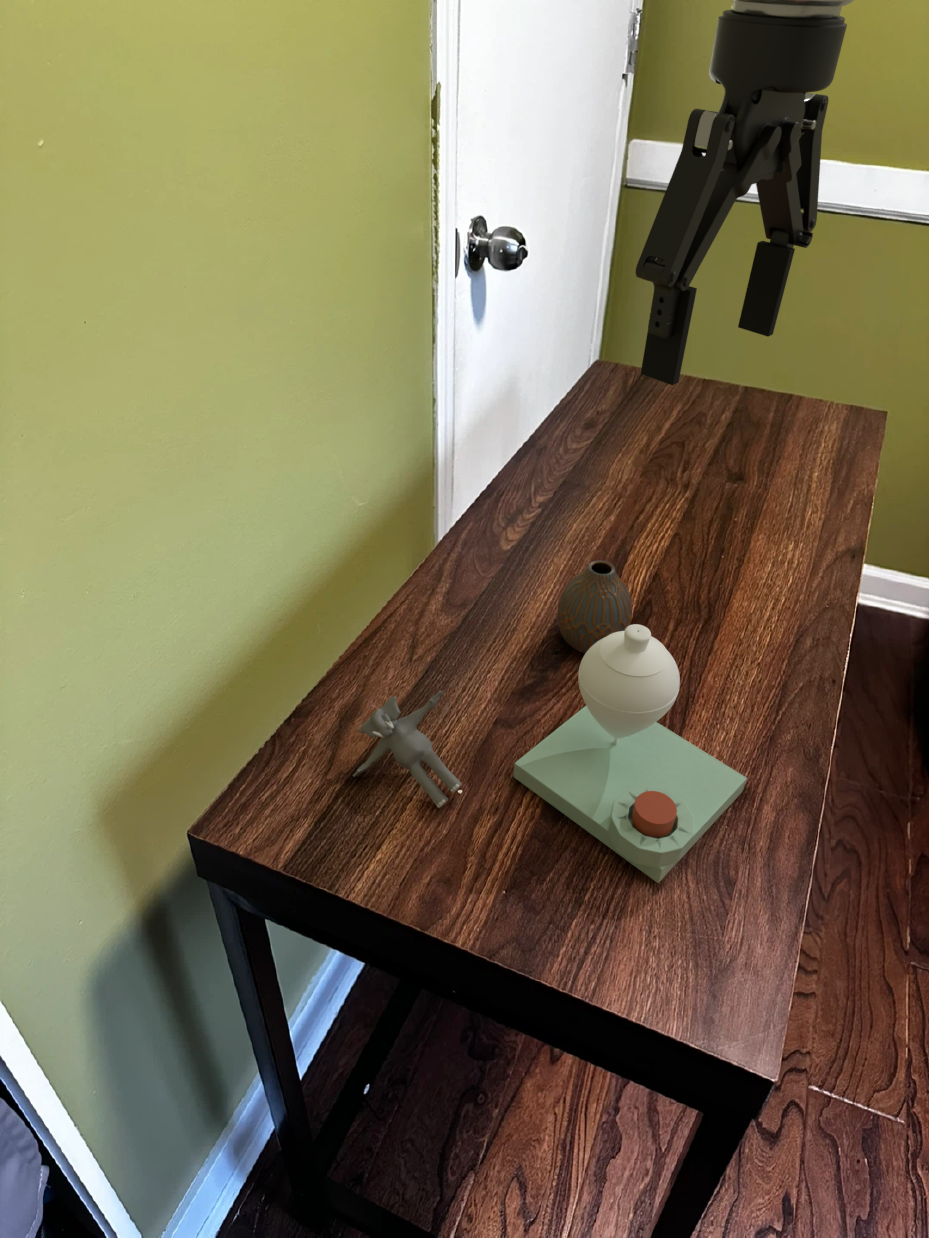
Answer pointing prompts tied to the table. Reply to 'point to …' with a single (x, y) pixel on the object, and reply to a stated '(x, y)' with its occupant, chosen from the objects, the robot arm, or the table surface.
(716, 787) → the green push button box
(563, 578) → the table surface
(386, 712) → the elephant figurine
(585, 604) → the vase
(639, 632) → the spinning top
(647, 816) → the button
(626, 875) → the table surface
